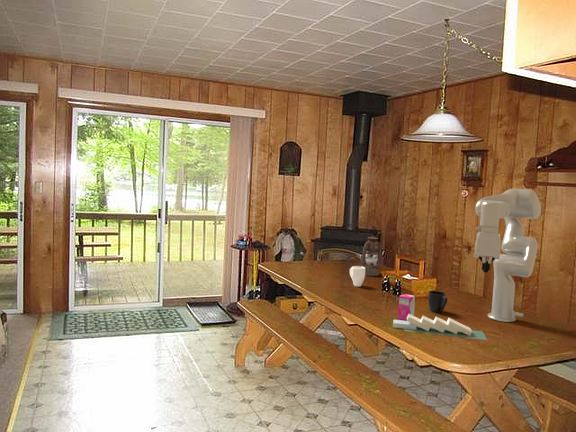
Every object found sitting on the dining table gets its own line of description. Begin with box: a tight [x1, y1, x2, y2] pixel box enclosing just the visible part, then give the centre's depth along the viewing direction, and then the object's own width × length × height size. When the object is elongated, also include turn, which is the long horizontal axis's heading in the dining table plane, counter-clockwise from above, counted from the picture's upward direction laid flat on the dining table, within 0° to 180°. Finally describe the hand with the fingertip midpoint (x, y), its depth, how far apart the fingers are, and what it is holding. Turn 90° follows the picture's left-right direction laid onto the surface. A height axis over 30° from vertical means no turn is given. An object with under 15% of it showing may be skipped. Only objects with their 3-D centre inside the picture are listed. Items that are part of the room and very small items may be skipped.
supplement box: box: [397, 293, 416, 321], centre depth 231 cm, size 6×6×12 cm
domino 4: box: [433, 316, 459, 334], centre depth 214 cm, size 2×6×10 cm
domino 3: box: [420, 315, 445, 333], centre depth 216 cm, size 2×6×10 cm
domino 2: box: [407, 314, 430, 331], centre depth 217 cm, size 2×6×10 cm
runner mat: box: [403, 326, 488, 341], centre depth 215 cm, size 34×12×1 cm, turn 77°
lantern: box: [360, 223, 382, 277], centre depth 335 cm, size 11×16×35 cm
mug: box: [427, 290, 448, 314], centre depth 247 cm, size 8×12×10 cm
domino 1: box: [392, 319, 417, 330], centre depth 218 cm, size 2×6×10 cm
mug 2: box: [349, 265, 366, 288], centre depth 300 cm, size 12×8×11 cm
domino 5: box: [446, 317, 472, 336], centre depth 213 cm, size 2×6×10 cm
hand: (485, 271), depth 214 cm, fingers closed
